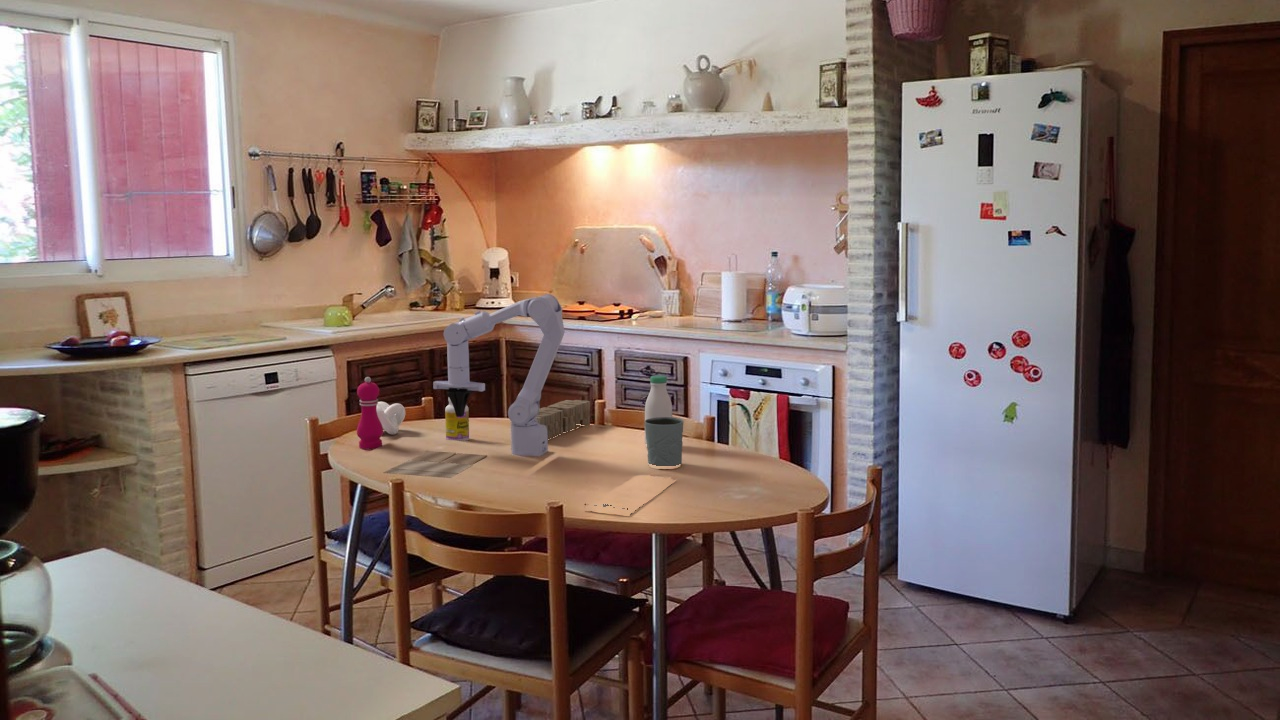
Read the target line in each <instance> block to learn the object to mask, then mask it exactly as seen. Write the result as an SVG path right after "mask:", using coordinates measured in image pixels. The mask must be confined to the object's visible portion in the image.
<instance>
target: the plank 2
mask: <svg viewBox="0 0 1280 720" xmlns="http://www.w3.org/2000/svg"><path fill="white" fill-rule="evenodd" d="M486 457H488V455H487V454H473V453H463V452H462V453H459V452H458V453H457V452H456V454H455V455H454V456H452V457H450V458H448V459H446V460H444V461H442V462H441V463H454V464H467V465H474V464H476V463H477V462H478V463H479V461H481V460H484V459H485V458H486Z"/></svg>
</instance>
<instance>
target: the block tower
mask: <svg viewBox="0 0 1280 720" xmlns="http://www.w3.org/2000/svg"><path fill="white" fill-rule="evenodd" d="M536 418H537V421H538V424H540V425H545V426H546V428H547V435H548V439H550V438H553V437H555V436H557V435H559V434H563V435H564V433H563V432H567V431H570V430H572V429H576V428H577V427H580V425H576V424H581V425H586V426H589V425H591V424H590V422H591V421H590V419H591V401H589V400H580V399H574V400H570V399H565V400H561V401H558V402H555V403H552V404H550V405H547V407H545V406H543V407H541V408H540V409H539V413H538V414H537V416H536ZM583 427H585V426H581V427H580V428H583ZM576 430H577V429H576ZM553 439H554V438H553Z"/></svg>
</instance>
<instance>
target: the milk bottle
mask: <svg viewBox="0 0 1280 720" xmlns="http://www.w3.org/2000/svg"><path fill="white" fill-rule="evenodd" d="M649 380H650V381H649V382H650V384H649V385H650V390H649V394H648V396H647V398H646V400H645V404H644V421H645V420H647V419H650V418H657V417H673V405H672V404H673V403H672V401H671V400H672V399H671V398H670V395H669V393H668V390H667V384H668V383H667V382H668V378H667V376H666V375H660V374H659V375H658V374H656V375H651V376H650V379H649ZM645 444H647V440H646V432H645V431H644V445H645Z"/></svg>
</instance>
